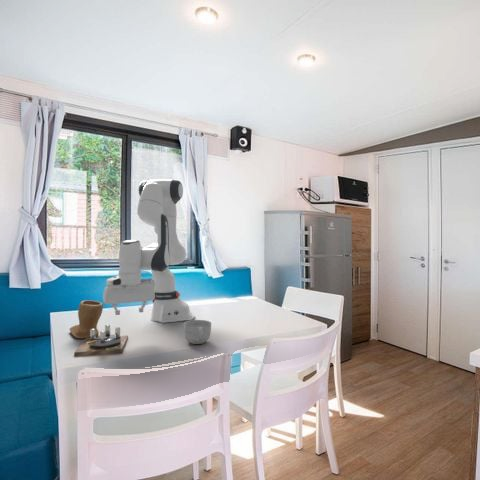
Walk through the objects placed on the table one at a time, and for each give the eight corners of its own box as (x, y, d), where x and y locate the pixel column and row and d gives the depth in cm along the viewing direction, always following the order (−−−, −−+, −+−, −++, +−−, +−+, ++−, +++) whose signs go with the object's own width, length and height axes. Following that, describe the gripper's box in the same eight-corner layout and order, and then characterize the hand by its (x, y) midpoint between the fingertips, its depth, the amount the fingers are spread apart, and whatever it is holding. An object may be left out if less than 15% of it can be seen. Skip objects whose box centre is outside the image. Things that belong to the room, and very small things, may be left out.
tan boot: (106, 337, 139) (105, 301, 139) (75, 342, 132) (74, 305, 132) (97, 329, 152) (97, 296, 151) (69, 333, 145) (68, 299, 145)
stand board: (127, 339, 136) (127, 334, 136) (121, 353, 120) (121, 348, 119) (86, 341, 133) (86, 337, 133) (74, 356, 116) (74, 351, 116)
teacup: (185, 338, 137) (185, 319, 137) (211, 337, 138) (211, 318, 138) (182, 349, 123) (182, 328, 123) (211, 348, 124) (211, 327, 124)
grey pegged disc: (122, 337, 132) (122, 323, 132) (118, 346, 121) (118, 331, 121) (92, 339, 130) (92, 325, 130) (85, 349, 119) (85, 333, 119)
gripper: (152, 277, 143) (151, 309, 143) (102, 280, 132) (101, 314, 131) (157, 278, 138) (156, 312, 137) (105, 281, 126) (105, 317, 126)
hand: (129, 313), depth 134 cm, fingers open, 8 cm apart
